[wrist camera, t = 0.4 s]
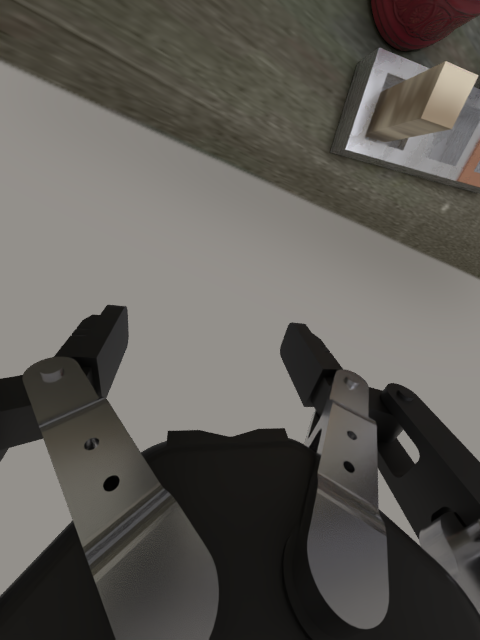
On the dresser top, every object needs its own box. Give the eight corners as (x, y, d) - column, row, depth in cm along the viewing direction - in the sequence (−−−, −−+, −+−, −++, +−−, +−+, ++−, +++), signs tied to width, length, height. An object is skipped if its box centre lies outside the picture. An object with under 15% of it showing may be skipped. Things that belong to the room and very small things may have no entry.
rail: (357, 63, 28) (381, 46, 25) (517, 125, 35) (555, 119, 31) (329, 152, 33) (346, 149, 29) (477, 193, 39) (505, 194, 35)
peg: (373, 95, 29) (445, 61, 21) (399, 104, 30) (478, 75, 22) (360, 134, 31) (420, 118, 23) (384, 142, 32) (451, 129, 24)
